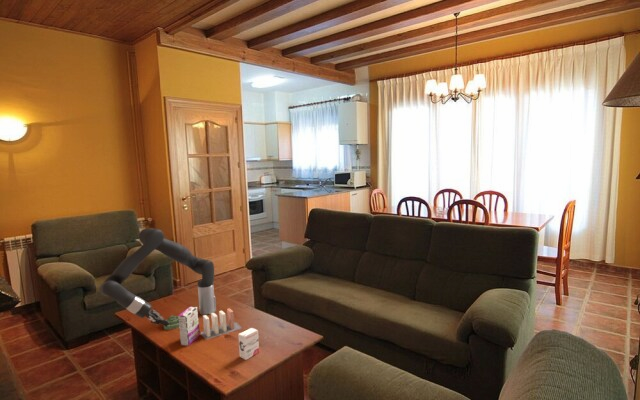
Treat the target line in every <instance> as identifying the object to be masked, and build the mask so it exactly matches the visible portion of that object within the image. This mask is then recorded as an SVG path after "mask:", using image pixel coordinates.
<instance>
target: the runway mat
mask: <svg viewBox="0 0 640 400" xmlns="http://www.w3.org/2000/svg"><path fill="white" fill-rule="evenodd" d="M226 328H227V331H225V332H223V331H222V329H221V328H220V326H218V330H219V334H215V333H214V332H213V331H212V328H210V335H211V336H210V337H207V336H206V335H205V333H204V330H203V331H201V332H200V335H201V336H202V337H203V338H204V339H205V341H206V340H210V339H213V338H216V337H219V336H222V335H225V334H229V333H231V332H235V331H239V330H242V329H243V327H242V326H241V325H240V324H239V323H237V322H236V321H234V329H231V328H230V327H229V326H228V323H226Z"/></svg>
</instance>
